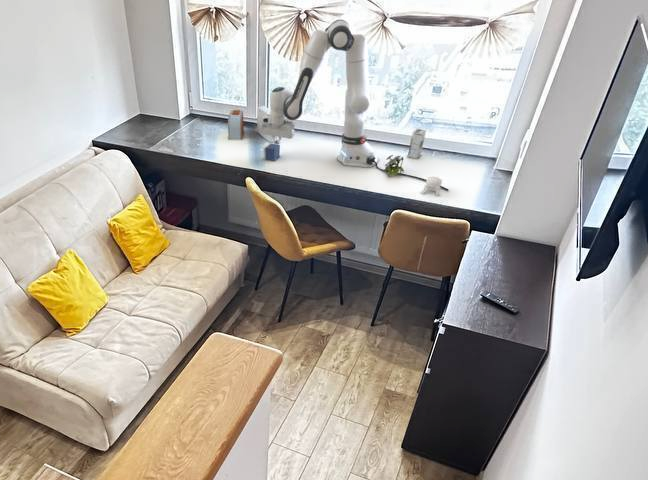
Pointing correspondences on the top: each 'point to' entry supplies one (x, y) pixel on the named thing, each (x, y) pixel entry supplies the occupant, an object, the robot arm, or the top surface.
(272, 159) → the dark blue cube
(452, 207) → the top surface
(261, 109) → the skincare box
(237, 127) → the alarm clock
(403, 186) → the top surface
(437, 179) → the white lumpy piece
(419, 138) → the syrup box
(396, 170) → the passion flower
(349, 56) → the robot arm
